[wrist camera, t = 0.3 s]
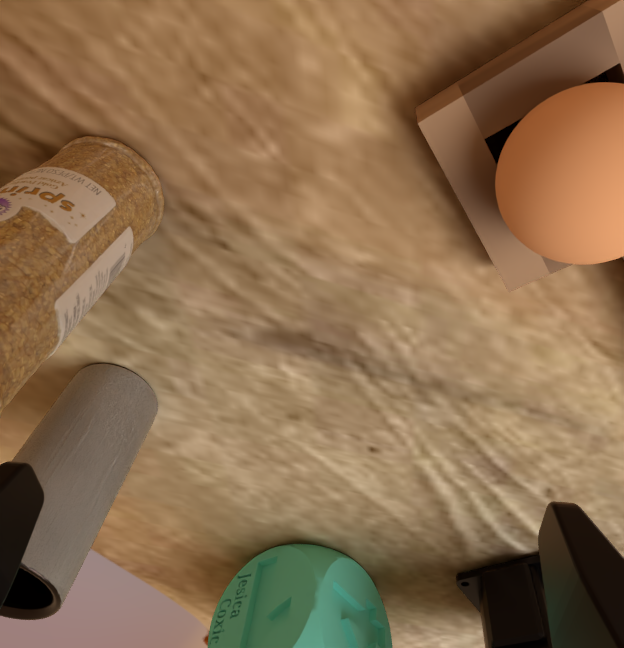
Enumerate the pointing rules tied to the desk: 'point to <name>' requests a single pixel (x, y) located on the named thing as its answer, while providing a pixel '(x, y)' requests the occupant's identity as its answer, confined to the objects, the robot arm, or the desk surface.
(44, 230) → the sprinkles bottle
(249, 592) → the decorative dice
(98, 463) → the grey hollow cylinder
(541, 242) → the ball
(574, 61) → the brown flat square frame
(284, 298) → the desk surface
